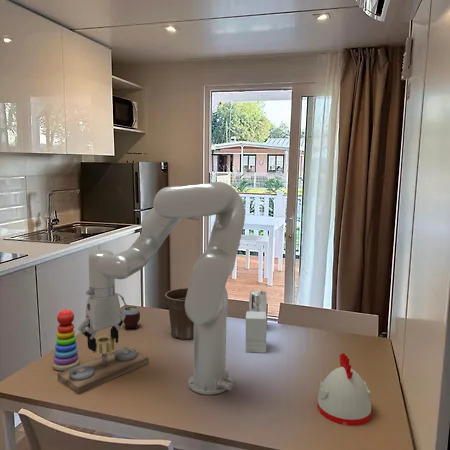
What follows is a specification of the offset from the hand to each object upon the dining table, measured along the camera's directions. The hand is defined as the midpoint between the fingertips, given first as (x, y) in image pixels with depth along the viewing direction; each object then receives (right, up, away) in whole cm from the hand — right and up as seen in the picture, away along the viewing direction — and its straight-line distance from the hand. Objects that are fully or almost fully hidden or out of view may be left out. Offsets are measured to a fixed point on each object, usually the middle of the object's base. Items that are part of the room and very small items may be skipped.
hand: (103, 345), depth 129 cm
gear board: (0, -8, +1) cm, 9 cm away
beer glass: (+51, -4, +36) cm, 63 cm away
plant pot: (+23, -5, +31) cm, 39 cm away
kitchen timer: (+70, -12, -18) cm, 73 cm away
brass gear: (0, -1, 0) cm, 1 cm away
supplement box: (+49, -7, +19) cm, 53 cm away
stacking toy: (-13, -8, +4) cm, 16 cm away
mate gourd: (0, -4, +36) cm, 37 cm away
